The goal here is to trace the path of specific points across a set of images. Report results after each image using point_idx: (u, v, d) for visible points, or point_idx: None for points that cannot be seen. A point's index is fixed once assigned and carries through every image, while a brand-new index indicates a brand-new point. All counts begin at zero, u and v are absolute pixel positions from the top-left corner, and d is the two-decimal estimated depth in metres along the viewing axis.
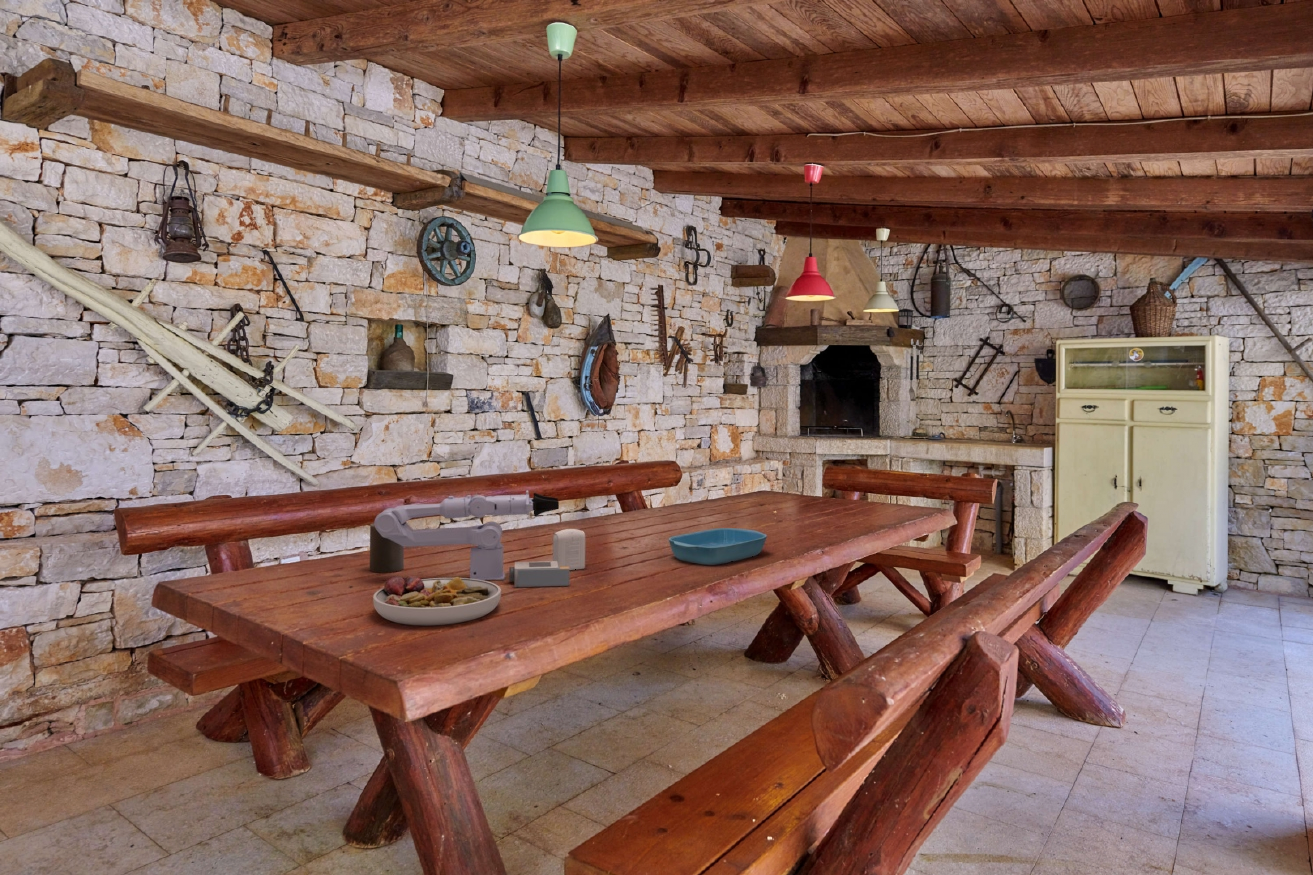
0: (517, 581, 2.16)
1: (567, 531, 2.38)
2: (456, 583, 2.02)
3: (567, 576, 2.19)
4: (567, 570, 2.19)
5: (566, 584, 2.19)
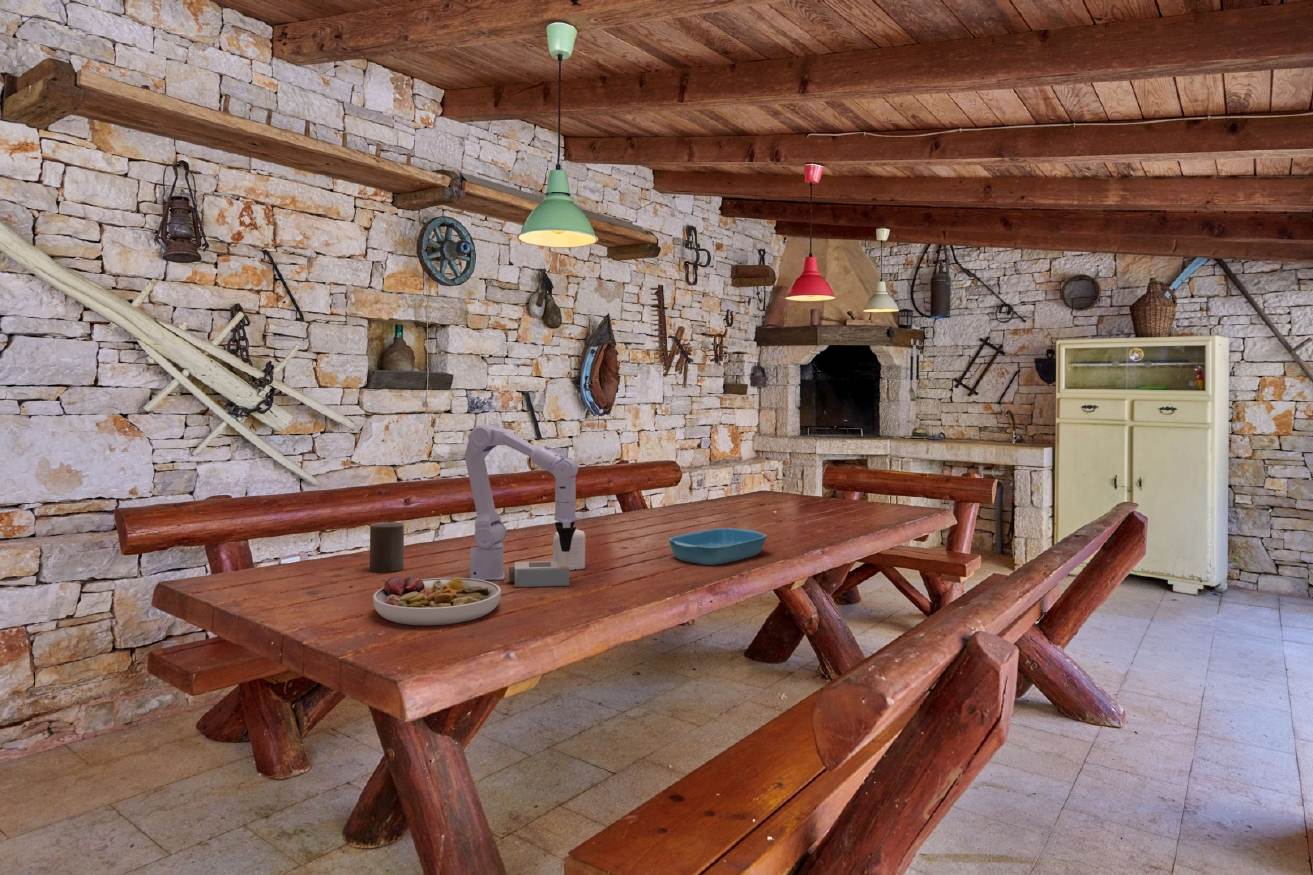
0: (517, 581, 2.16)
1: None
2: (456, 583, 2.02)
3: (567, 576, 2.19)
4: (567, 570, 2.19)
5: (566, 584, 2.19)
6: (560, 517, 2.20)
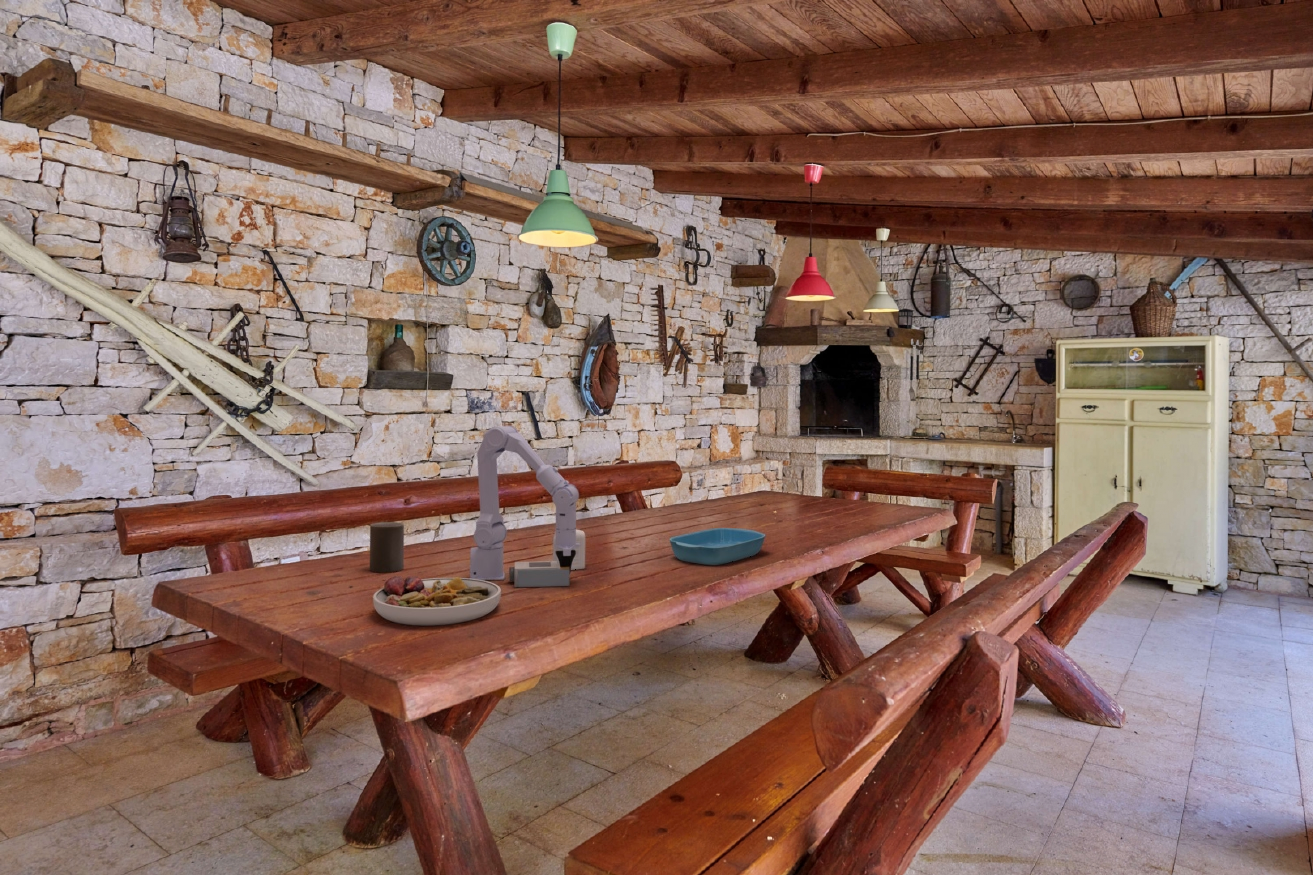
0: (517, 581, 2.16)
1: None
2: (456, 583, 2.02)
3: (567, 576, 2.18)
4: (567, 570, 2.18)
5: (566, 584, 2.18)
6: (560, 544, 2.19)
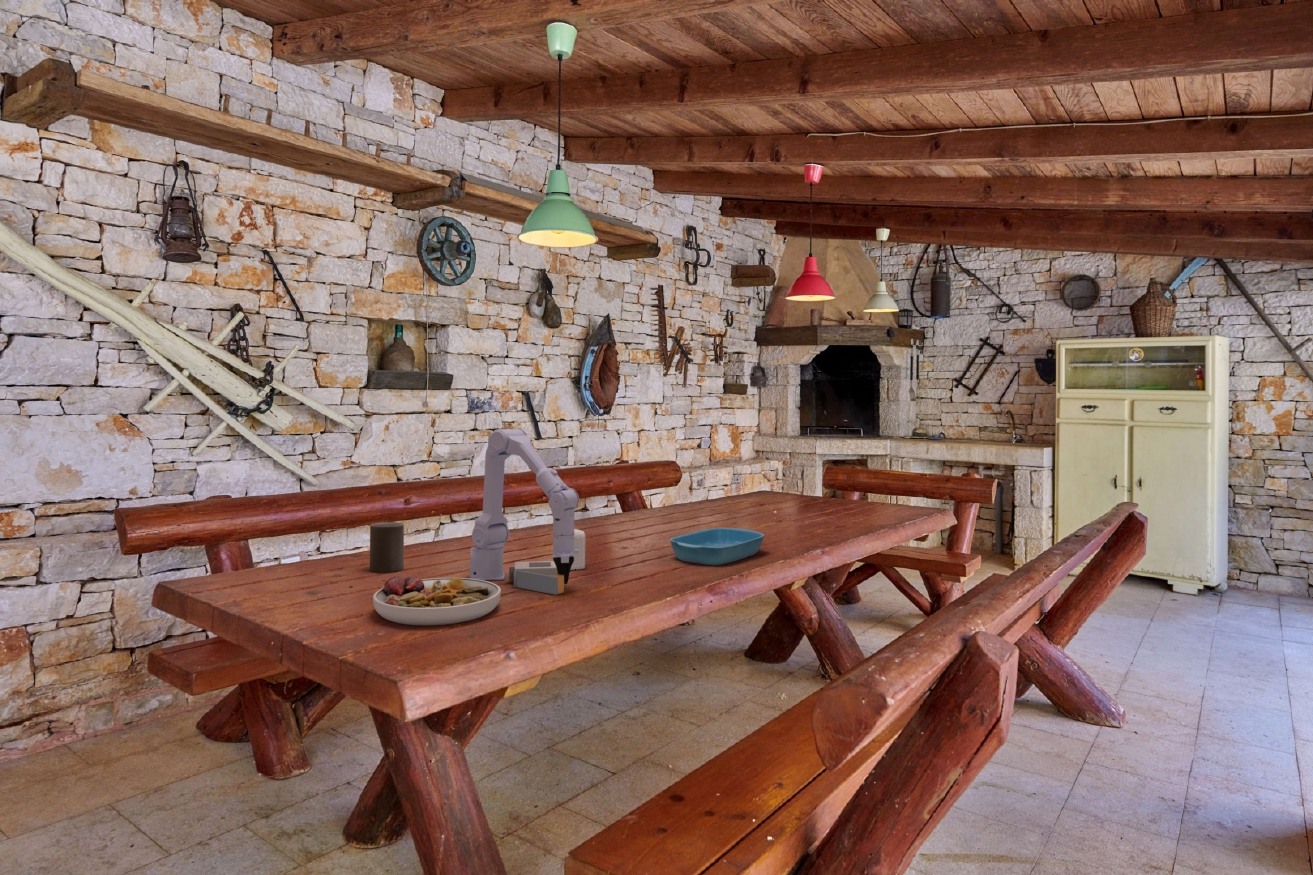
0: (515, 581, 2.16)
1: None
2: (456, 583, 2.02)
3: (554, 584, 2.09)
4: (554, 578, 2.09)
5: (553, 593, 2.09)
6: (558, 551, 2.11)
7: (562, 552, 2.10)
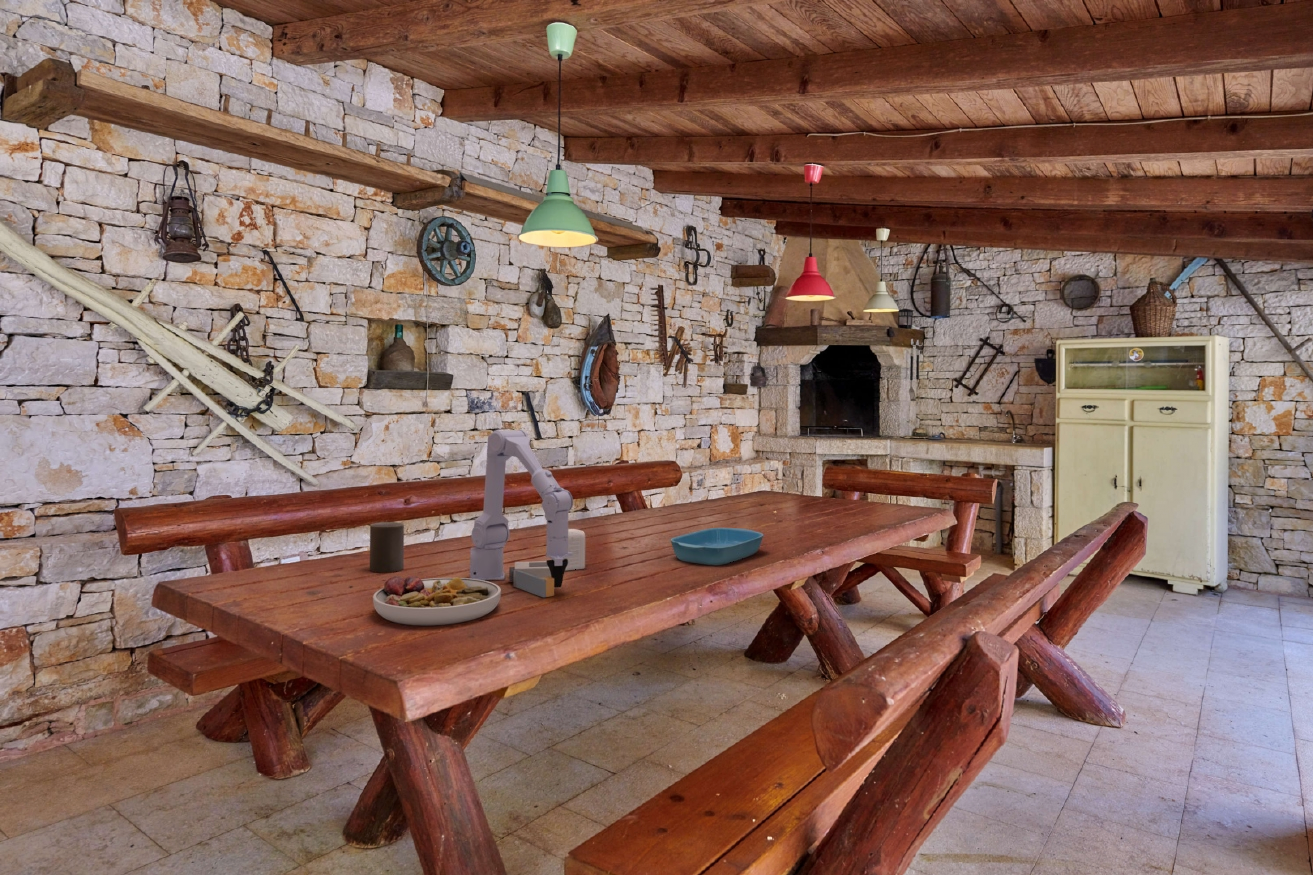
0: (514, 581, 2.16)
1: None
2: (456, 583, 2.02)
3: (542, 587, 2.06)
4: (542, 581, 2.06)
5: (541, 595, 2.06)
6: (552, 553, 2.07)
7: (556, 555, 2.07)
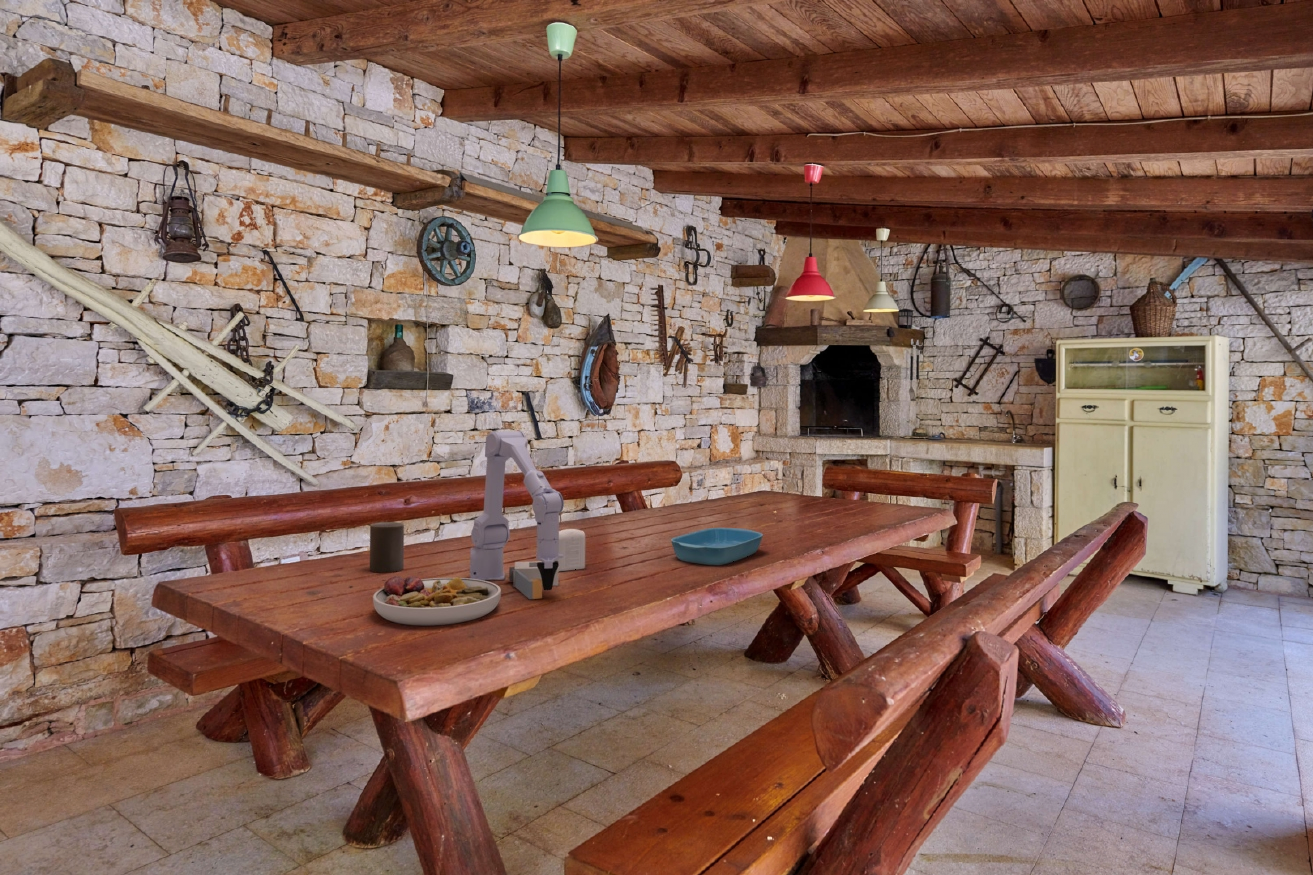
0: (514, 581, 2.16)
1: (567, 531, 2.38)
2: (456, 583, 2.02)
3: (529, 589, 2.04)
4: (529, 582, 2.04)
5: (528, 597, 2.04)
6: (542, 556, 2.04)
7: (546, 557, 2.04)
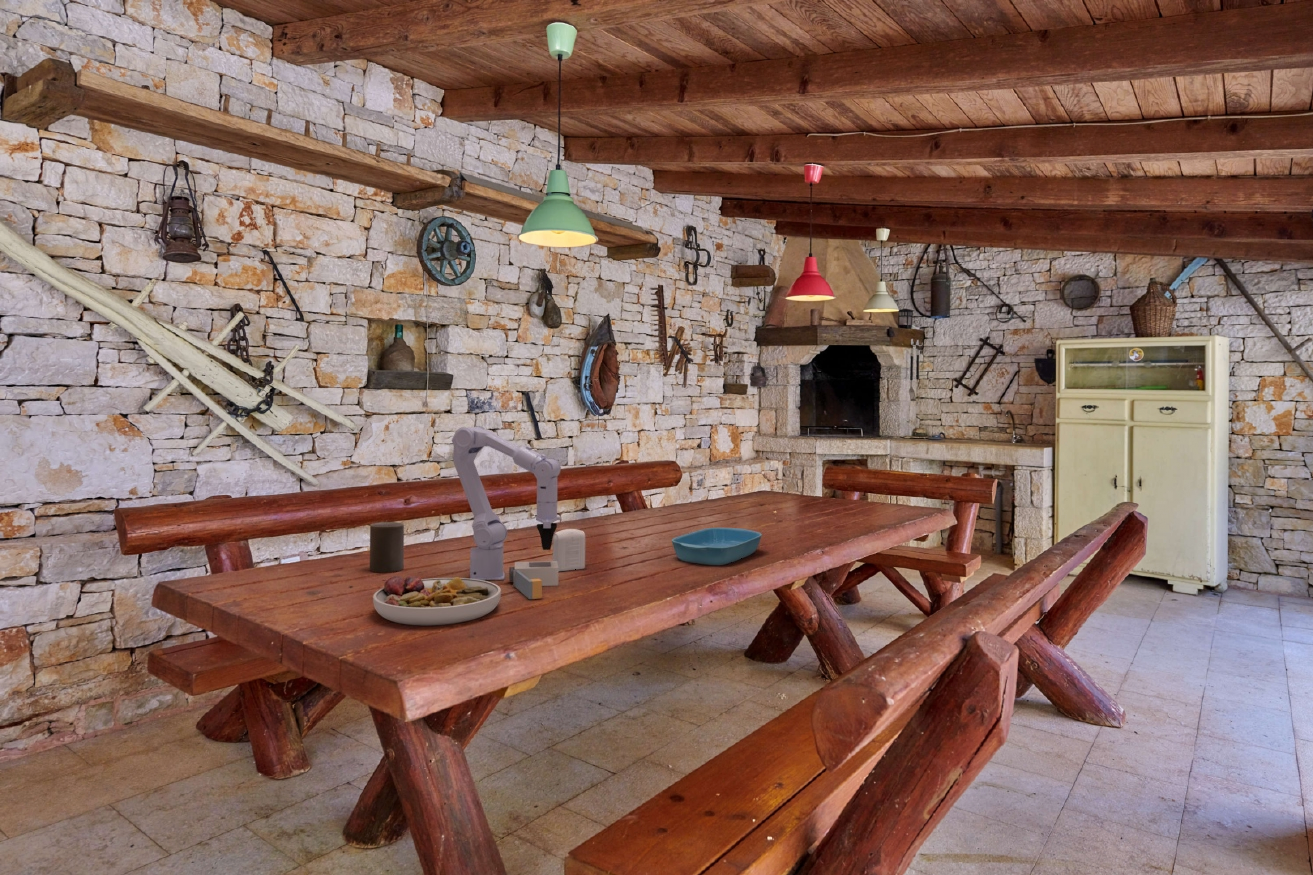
0: (514, 581, 2.16)
1: (567, 531, 2.38)
2: (456, 583, 2.02)
3: (528, 589, 2.04)
4: (528, 582, 2.04)
5: (528, 597, 2.04)
6: (541, 517, 2.20)
7: (545, 518, 2.19)
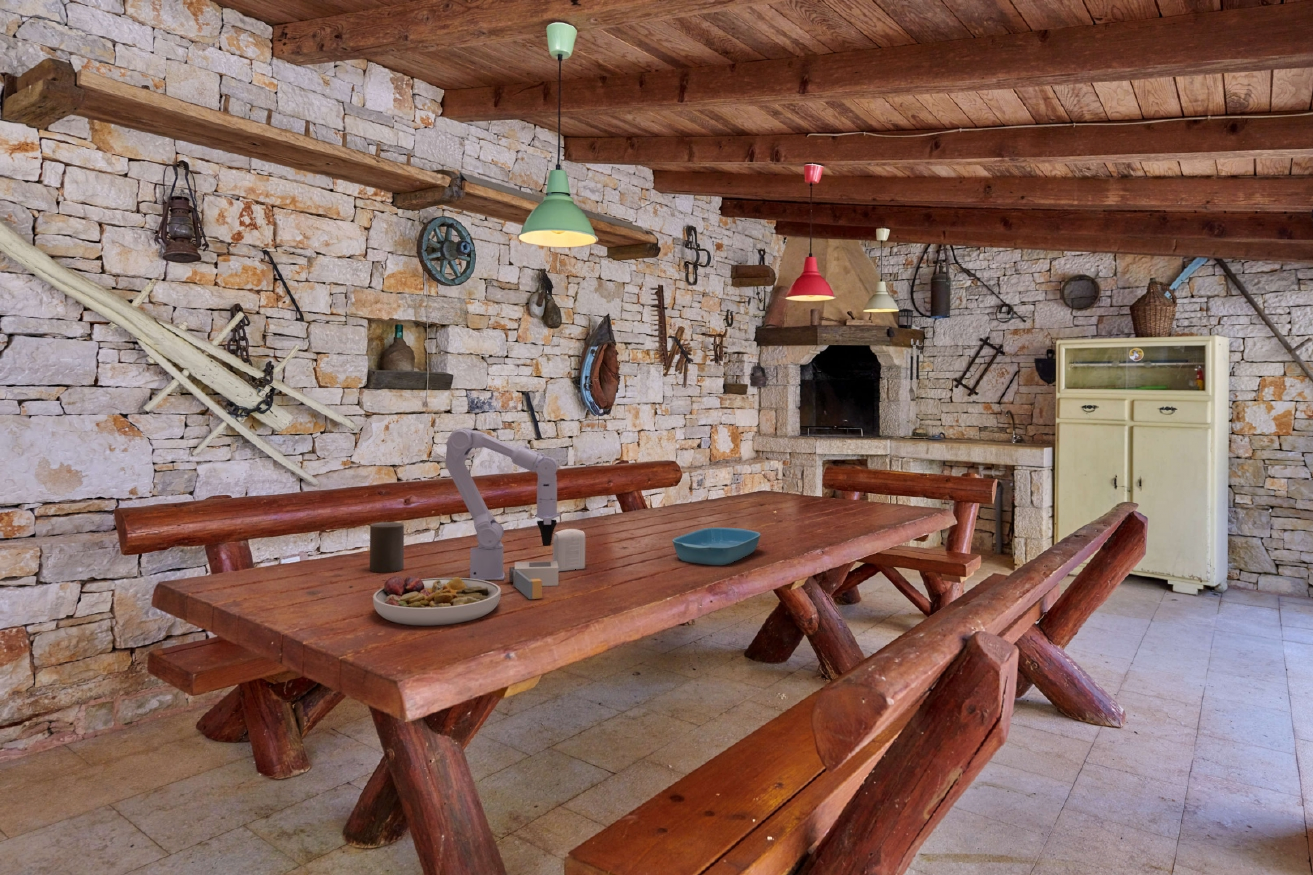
0: (514, 581, 2.16)
1: (567, 531, 2.38)
2: (456, 583, 2.02)
3: (528, 589, 2.04)
4: (528, 582, 2.04)
5: (528, 597, 2.04)
6: (541, 514, 2.25)
7: (545, 515, 2.25)
